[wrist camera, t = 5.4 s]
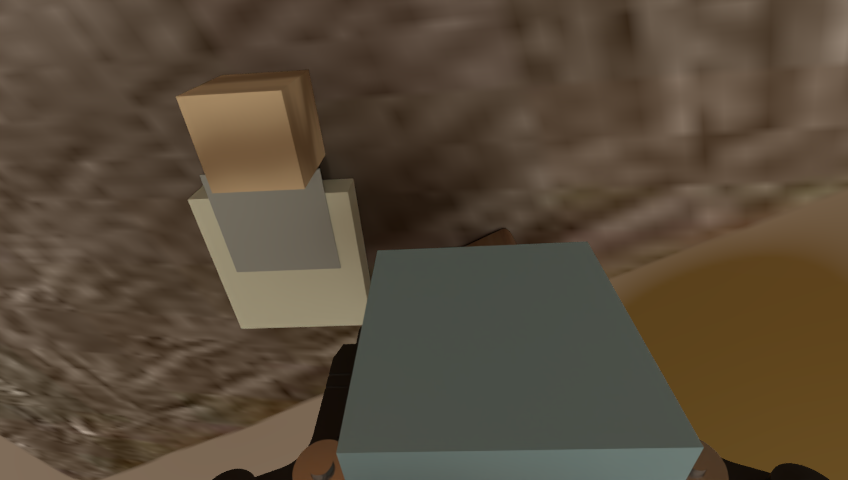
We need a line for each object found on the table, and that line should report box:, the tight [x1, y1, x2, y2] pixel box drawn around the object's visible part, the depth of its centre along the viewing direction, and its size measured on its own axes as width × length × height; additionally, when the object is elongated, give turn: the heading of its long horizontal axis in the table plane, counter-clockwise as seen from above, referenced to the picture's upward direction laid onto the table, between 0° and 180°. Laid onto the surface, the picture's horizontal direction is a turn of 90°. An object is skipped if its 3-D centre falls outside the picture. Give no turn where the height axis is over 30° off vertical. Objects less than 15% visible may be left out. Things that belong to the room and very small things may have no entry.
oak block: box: [176, 70, 326, 193], centre depth 22 cm, size 5×5×5 cm
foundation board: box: [188, 168, 371, 329], centre depth 28 cm, size 13×10×2 cm
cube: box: [336, 242, 704, 480], centre depth 11 cm, size 6×6×6 cm
